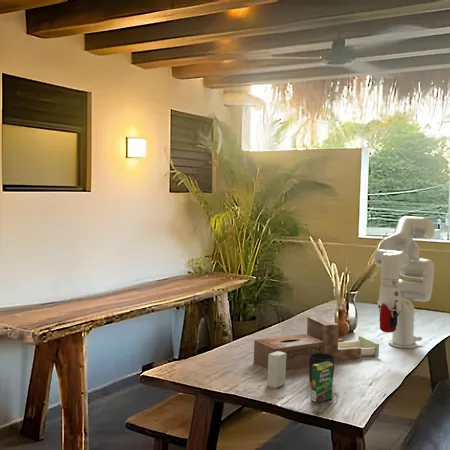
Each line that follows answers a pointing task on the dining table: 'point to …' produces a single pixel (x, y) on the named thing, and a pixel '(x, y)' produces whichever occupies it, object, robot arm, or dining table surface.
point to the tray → (362, 346)
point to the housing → (331, 338)
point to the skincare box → (276, 369)
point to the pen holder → (319, 361)
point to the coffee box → (321, 381)
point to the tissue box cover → (288, 350)
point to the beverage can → (386, 319)
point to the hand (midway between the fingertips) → (388, 323)
